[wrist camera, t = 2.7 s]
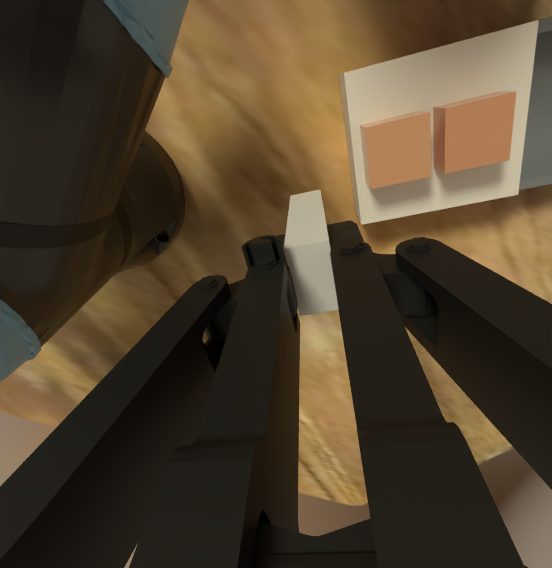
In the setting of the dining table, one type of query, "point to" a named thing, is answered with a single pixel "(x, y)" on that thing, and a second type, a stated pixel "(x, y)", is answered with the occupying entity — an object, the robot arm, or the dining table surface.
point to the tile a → (396, 149)
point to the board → (424, 96)
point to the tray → (539, 114)
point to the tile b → (473, 131)
